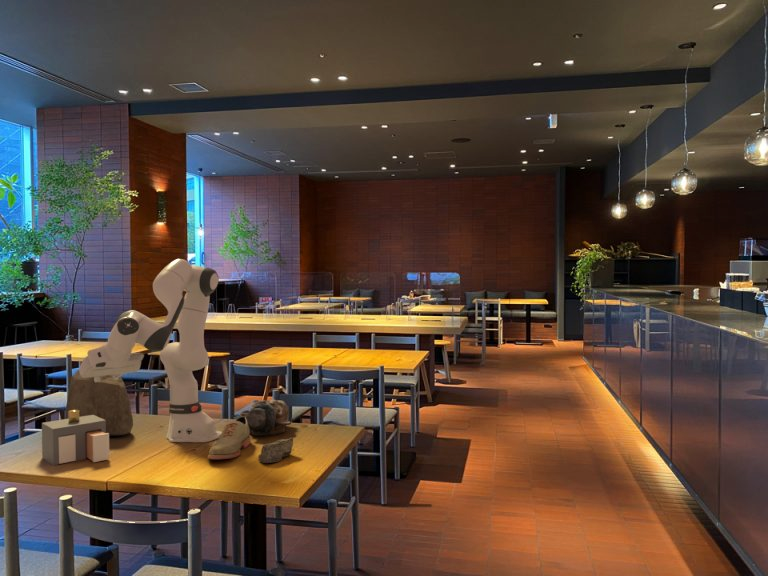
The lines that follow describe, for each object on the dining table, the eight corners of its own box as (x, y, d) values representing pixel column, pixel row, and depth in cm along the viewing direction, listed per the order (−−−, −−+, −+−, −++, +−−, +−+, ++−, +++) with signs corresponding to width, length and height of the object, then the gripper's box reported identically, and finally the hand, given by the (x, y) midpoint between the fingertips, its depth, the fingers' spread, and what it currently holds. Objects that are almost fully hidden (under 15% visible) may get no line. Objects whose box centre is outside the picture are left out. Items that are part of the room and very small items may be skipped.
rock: (274, 439, 228) (296, 434, 225) (278, 456, 227) (300, 452, 224) (249, 449, 212) (273, 444, 209) (253, 468, 211) (277, 464, 208)
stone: (89, 422, 276) (88, 357, 275) (157, 425, 269) (157, 359, 269) (49, 436, 251) (48, 365, 251) (123, 440, 245) (122, 367, 244)
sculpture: (291, 439, 245) (291, 405, 245) (238, 442, 241) (238, 407, 241) (289, 424, 270) (289, 393, 270) (241, 426, 266) (240, 395, 266)
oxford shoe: (199, 466, 210) (199, 433, 210) (225, 441, 242) (225, 412, 242) (231, 466, 210) (231, 433, 210) (253, 441, 242) (252, 412, 242)
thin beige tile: (75, 460, 216) (75, 434, 216) (59, 463, 212) (59, 437, 212) (64, 453, 225) (64, 428, 225) (48, 456, 221) (48, 431, 221)
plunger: (109, 459, 218) (109, 433, 217) (93, 462, 214) (93, 436, 214) (96, 452, 226) (96, 427, 226) (81, 455, 223) (81, 430, 222)
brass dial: (81, 420, 224) (81, 410, 223) (74, 423, 220) (74, 412, 220) (73, 420, 224) (73, 409, 224) (66, 422, 221) (66, 411, 221)
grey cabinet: (106, 454, 224) (105, 420, 224) (53, 465, 212) (52, 429, 211) (93, 447, 233) (93, 414, 233) (42, 457, 221) (41, 422, 221)
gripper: (142, 345, 219) (132, 369, 226) (83, 350, 205) (73, 376, 212) (147, 359, 216) (137, 382, 223) (88, 365, 201) (78, 390, 209)
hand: (105, 379), depth 217 cm, fingers open, 5 cm apart
